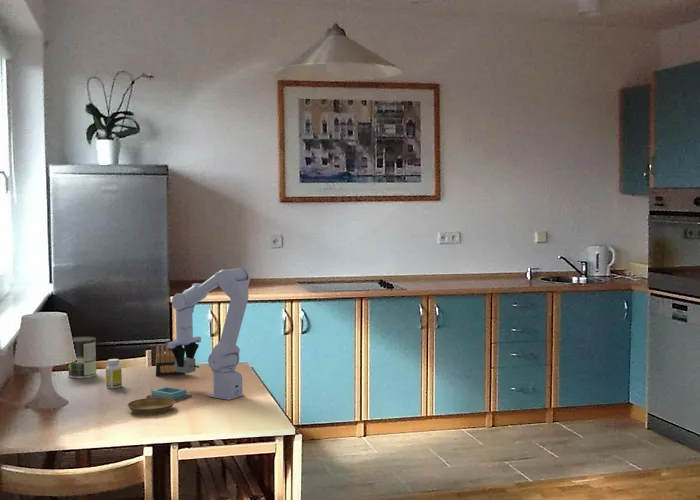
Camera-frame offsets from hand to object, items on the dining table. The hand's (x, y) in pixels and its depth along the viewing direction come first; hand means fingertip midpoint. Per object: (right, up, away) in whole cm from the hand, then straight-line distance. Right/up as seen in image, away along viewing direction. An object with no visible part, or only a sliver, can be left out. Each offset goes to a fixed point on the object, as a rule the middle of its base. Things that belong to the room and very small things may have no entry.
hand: (185, 365), depth 301 cm
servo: (+1, -2, 0) cm, 2 cm away
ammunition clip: (-10, -7, +24) cm, 27 cm away
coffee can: (-44, -7, +24) cm, 50 cm away
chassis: (-3, -9, -11) cm, 15 cm away
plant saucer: (-5, -11, -28) cm, 31 cm away
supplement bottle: (-26, -9, +5) cm, 28 cm away
